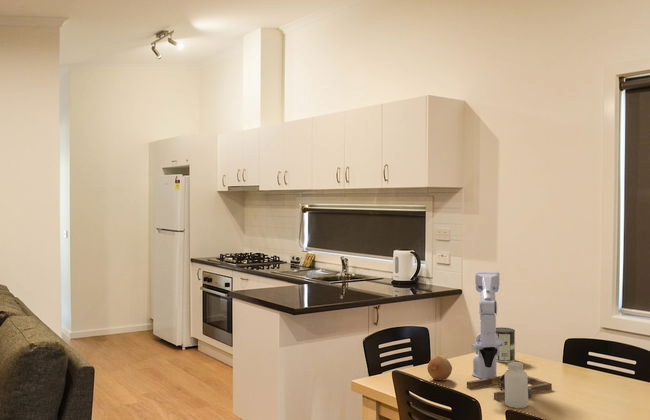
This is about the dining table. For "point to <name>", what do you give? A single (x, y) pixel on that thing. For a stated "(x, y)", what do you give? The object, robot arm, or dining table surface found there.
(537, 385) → the walnut slot beam
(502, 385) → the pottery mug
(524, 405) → the pill bottle
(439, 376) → the onion
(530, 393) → the block
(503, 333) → the coffee can
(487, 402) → the dining table surface
